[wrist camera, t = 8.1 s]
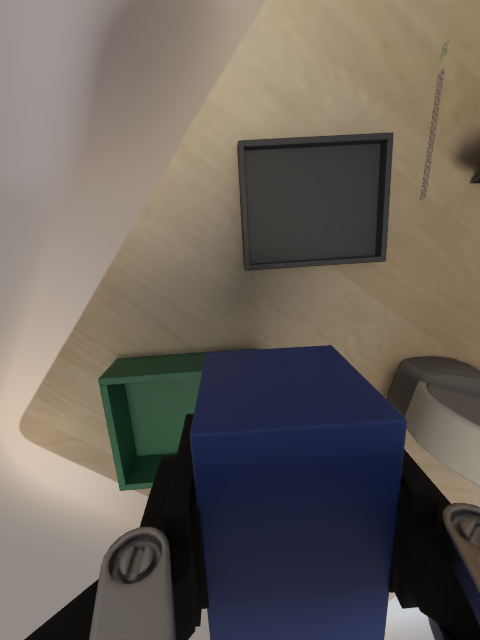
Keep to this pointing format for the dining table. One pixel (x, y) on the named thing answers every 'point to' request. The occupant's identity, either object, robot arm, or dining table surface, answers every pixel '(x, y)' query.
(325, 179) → the tray
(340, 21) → the dining table surface
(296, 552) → the blue block
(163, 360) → the box
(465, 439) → the alarm clock
